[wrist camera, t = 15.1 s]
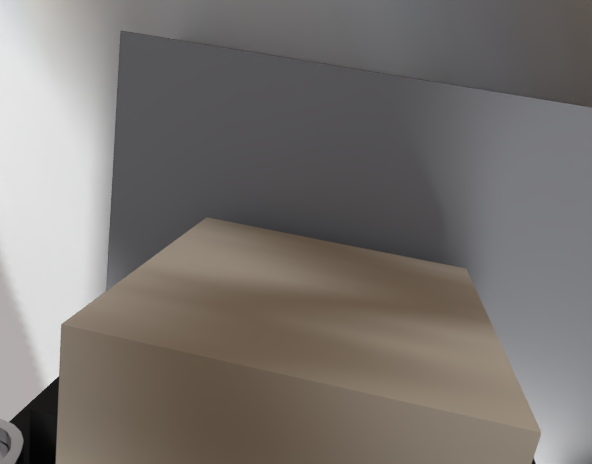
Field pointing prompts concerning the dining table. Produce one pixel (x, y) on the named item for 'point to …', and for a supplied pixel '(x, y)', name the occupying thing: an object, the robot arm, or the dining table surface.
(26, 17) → the dining table surface
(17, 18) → the dining table surface
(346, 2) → the dining table surface
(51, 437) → the robot arm
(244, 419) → the birch block
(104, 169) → the dining table surface
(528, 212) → the grey stepped platform
